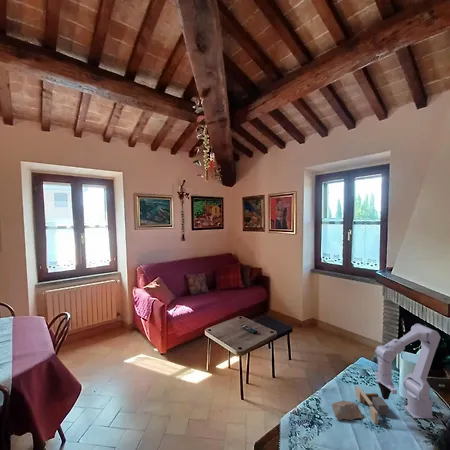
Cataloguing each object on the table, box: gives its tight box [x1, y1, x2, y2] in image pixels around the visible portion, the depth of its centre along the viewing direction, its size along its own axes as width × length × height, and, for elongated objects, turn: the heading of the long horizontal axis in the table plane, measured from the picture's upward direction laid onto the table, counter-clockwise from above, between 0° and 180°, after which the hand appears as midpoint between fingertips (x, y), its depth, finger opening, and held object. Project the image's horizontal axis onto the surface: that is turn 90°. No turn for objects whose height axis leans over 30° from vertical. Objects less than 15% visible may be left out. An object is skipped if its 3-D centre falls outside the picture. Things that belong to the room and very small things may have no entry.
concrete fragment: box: [331, 400, 363, 421], centre depth 124 cm, size 7×14×6 cm, turn 90°
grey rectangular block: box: [372, 396, 389, 416], centre depth 127 cm, size 4×6×5 cm
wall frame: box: [354, 385, 379, 425], centre depth 128 cm, size 2×19×6 cm, turn 178°
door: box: [361, 392, 380, 405], centre depth 131 cm, size 2×8×5 cm, turn 89°
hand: (385, 398), depth 122 cm, fingers closed
